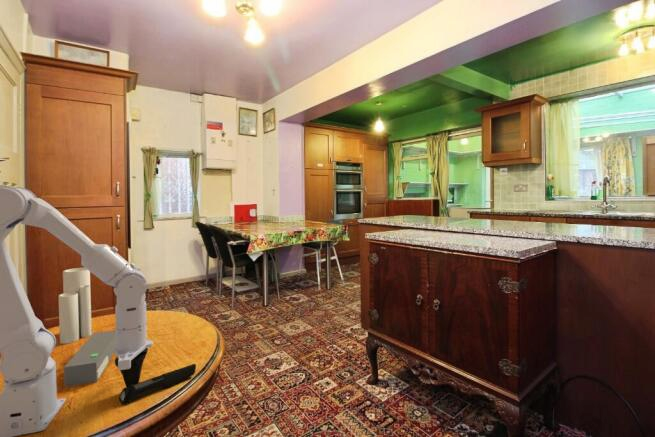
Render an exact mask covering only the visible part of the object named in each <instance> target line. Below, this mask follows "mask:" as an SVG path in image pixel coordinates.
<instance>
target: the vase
mask: <svg viewBox="0 0 655 437" xmlns="http://www.w3.org/2000/svg"><path fill="white" fill-rule="evenodd" d="M62 283H63V284H62V286H63V287H62V288H63V290H62V291H63V293H61V294H58V318H59V319H58V321H59V322H58V324H59V325H58V327H59V343H60V344H62V345H66V344H71V343H75V342H77V341H79V340H80V338H88V337H89V338H90V337H91V335H92V303H91V302H92V301H91V300H92V298H91V297H92V296H91V272H90V271H89V270H87V269H86V268H85V267H78V268H77V267H76V268H69V269H64V270H63V271H62Z"/></svg>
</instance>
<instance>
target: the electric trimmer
mask: <svg viewBox="0 0 655 437" xmlns="http://www.w3.org/2000/svg"><path fill="white" fill-rule="evenodd" d="M196 367H197V364H196V363H192V364H190V365H186V366H183V367H181V368H178V369H175V370H172V371H169V372H165V373H163V374H161V375H158V376H155V377H151V378H149V379H145V380H143V381H139V383H137V384H130V385H129V386H128V387H126V386H125V387H124V388H122V390H121V392H120V394H119V397H118V400H119V403H120V404H121V406H123V405H128V404H130V402H131V401H133V400H135V399H138V398H140V397H143V396H145V395H147V394H151V393H152V392H155V391H158V390H160V389H162V388H165V389H166V388H169V387H172V386H174V385H177V384H179V383H180V382H182V381H184V380H186V379H188V378H190V377H192V376H193V375H194V374H196Z"/></svg>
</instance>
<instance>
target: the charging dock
mask: <svg viewBox="0 0 655 437" xmlns="http://www.w3.org/2000/svg"><path fill="white" fill-rule="evenodd" d="M115 347H116V329H114V330H105V331H104V330H103V331H97V332H93V333H91V336H89V338H88V339H87V340H86V341H85V342H84V344H83V345H82V346H81V347H80V348H79V349H78V350H77V352H76V353H75V354H74V355H73V356H72V357H71V358H70V360H69V361H68V362H67V363H66V364H65V366H64V367H63V373H64V374H63V375H64V376H63V377H64V381H63V382H64V387H65V388H67V387H72V386H78V385H85V384H92V383H98V380H99V379H100V377H101V376H102V374H103V373H104V371H105V369H106V367H107V366H108V364H109V362H110V361H111V359H112V358H113V356H114V354H116V353H115Z"/></svg>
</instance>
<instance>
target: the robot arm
mask: <svg viewBox="0 0 655 437" xmlns="http://www.w3.org/2000/svg"><path fill="white" fill-rule="evenodd" d="M20 223H21V225H26V226H30V227H31V226H32V227H36V228H42V229H44V230H46V231H47V232H49V233H50V234H51V235H53V236H54V237H55V238H57V239H58V240H60V241H61V242H62V243H64V244H65V245H66V246H68V247H69V248H71V249H72V250H73V251H75V252H76V253H77V254H79V255H80V256H81V261H80V264H81V266H82V267H83V268H86V269H87V270H89V271H90V274H92V275H93V276H95V277H97V278H98V279H99V280H100V281H101V282H103V283H104V284H106V285H107V286H111V287H114V288H113V292H114V294H115V296H116V304H115V308H114V311H115V316H114V318H115V330H116V347H115V353H114V354H115V355H116V358H115V360H114V365H115V366H116V367H117V370H118V371H120V373H121V375H122V379H123V383H124V384H125V385H124V386H125V387H126V388H127V387H128V386H129V385H130V384H137V383H140V379H141V376H142V375H141V373H142V368H143V364H144V361H145V359H146V356H147V353H148V351H149V348H151V347H153V344H154V340H148V339H147V338H148V335H147V334H148V333H147V332H148V331H147V330H148V329H147V322H148V321H147V319H148V318H147V302H146V292H147V289H148V284H147V281H146V276H145V274H144V273H143V272H142V270H141V269H140V268H137V266H136V264H135V263H133V262H131V263H129V261H127V260H126V259H125V258H123V256H121V254H119V253H118V251H119V249H118V248H117V247H116V246H115V245H113V246H111V247H110V246H109V244H106V243H103V244H102V243H95V242H94V241H93V240H92V239H90V237H89V236H87V235H86V234H85V233H84V232H83V231H82V230H80V228H78V227H77V226H76V225H75V224H74V223H73V222H72V221H70V220H69V219H68V218H67V217H66V216H65V215H64V214H62V213H61V212H60V211H59V210H58V209H57V208H55V207H54V206H52V205H51V204H50V203H49V202H48V201H46V200H44V199H43V198H39V197H37V196H36V195H35V193H33V191H31V190H30V189H27V188H24V187H19V186H12V185H5V184H0V355H1V359H0V373H1V375H2V376H3V388H2V391H1V393H0V437H18V436H23V435H28V434H32V433H37V432H41V431H45V430H46V429H47V428H48V427H49V425H50V423H52V421H53V420H54V418H55V416H56V415H57V414H58V412H59V411H60V409H61V408H62V407H63V405H64V404H65V403H66V401H67V398H65V397H64V398H63V397H62V398H58V393H57V392H58V390H57V363H56V361H55V360H54V359H53V358H52V357H51V354H52V352H53V351H54V350H55V347H56V344H57V339H56V336H55V335H54V334H53V333H52V332H51V331H50V330H48V329H46V327H45V326H44V323H43V321H42V320H41V319H39V318H38V317H37V316H36V315H35V312H34V310H33V307H32V306H31V303H30V301H29V298H28V296H27V293H26V291H25V289H24V286H23V283H22V281H21V278H20V276H19V273H18V271H17V269H16V267H15V264H14V262H13V259H12V257H11V255H10V252H9V250H8V247H7V245H6V243H5V239H6V238H8V236H9V235H10V233H11V232H12V231H13V230H14V229H15V228H16V227H17V225H18V224H20ZM22 434H23V435H22Z"/></svg>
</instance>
